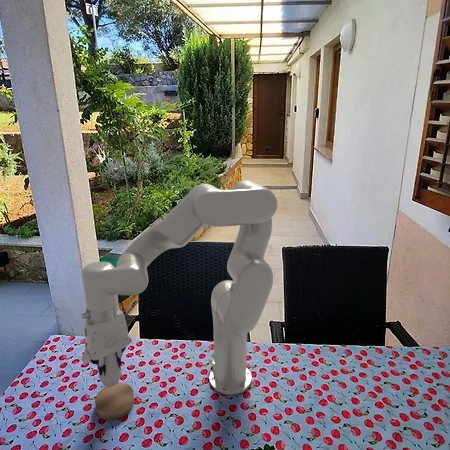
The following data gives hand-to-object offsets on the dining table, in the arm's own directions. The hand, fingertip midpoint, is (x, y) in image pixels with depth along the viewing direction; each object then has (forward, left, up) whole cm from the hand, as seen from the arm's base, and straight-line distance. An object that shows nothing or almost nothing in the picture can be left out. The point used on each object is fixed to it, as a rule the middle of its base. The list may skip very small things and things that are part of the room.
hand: (110, 371), depth 90 cm
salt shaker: (0, 0, -3) cm, 3 cm away
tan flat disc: (0, 0, -11) cm, 11 cm away
